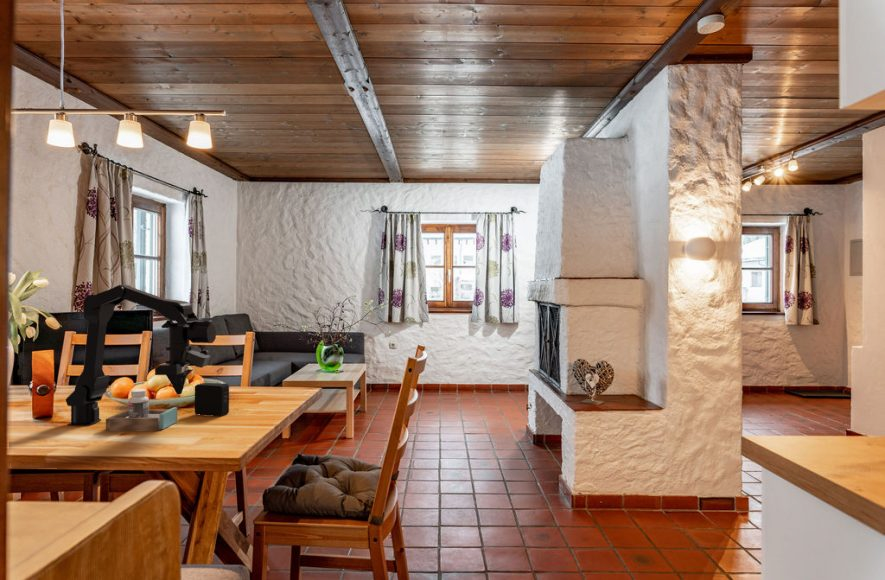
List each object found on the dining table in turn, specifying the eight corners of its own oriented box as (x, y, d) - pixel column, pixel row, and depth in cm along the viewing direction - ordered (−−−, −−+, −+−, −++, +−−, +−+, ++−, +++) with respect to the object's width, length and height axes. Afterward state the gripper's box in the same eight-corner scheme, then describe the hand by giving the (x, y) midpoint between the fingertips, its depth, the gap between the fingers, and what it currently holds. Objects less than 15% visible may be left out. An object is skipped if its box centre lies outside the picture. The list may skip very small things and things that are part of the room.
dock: (105, 431, 159) (105, 418, 159) (127, 421, 171) (127, 409, 171) (156, 431, 160) (156, 418, 160) (174, 421, 172) (174, 409, 172)
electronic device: (221, 416, 178) (221, 386, 178) (194, 414, 180) (194, 384, 180) (229, 413, 182) (229, 383, 182) (202, 412, 184) (202, 382, 184)
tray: (117, 429, 161) (117, 414, 161) (133, 421, 170) (133, 407, 170) (163, 429, 161) (163, 414, 161) (177, 421, 171) (177, 407, 171)
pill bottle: (124, 424, 163) (124, 391, 163) (134, 420, 168) (135, 388, 168) (142, 424, 163) (142, 392, 163) (152, 420, 168) (152, 388, 168)
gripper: (193, 346, 157) (193, 400, 157) (217, 339, 176) (217, 388, 176) (154, 346, 156) (154, 400, 157) (182, 339, 175) (182, 388, 175)
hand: (179, 394), depth 166 cm, fingers closed
